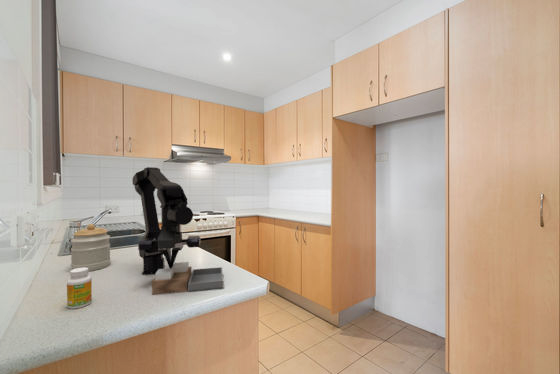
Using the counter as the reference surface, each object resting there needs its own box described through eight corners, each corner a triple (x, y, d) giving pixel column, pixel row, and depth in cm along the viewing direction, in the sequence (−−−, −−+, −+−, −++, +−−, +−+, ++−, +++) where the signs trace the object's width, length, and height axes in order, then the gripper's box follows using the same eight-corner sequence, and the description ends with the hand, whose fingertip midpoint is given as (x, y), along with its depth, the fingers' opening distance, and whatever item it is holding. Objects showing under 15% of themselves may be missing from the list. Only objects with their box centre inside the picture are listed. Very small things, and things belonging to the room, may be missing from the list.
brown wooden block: (152, 294, 77) (151, 281, 77) (161, 280, 89) (160, 268, 89) (187, 291, 80) (187, 278, 80) (191, 277, 91) (191, 266, 91)
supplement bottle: (72, 311, 68) (71, 274, 68) (63, 306, 70) (63, 270, 70) (95, 303, 72) (94, 268, 72) (86, 298, 75) (86, 265, 75)
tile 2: (155, 280, 78) (155, 273, 78) (158, 275, 83) (158, 269, 83) (171, 279, 79) (171, 272, 79) (173, 274, 84) (173, 268, 84)
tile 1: (172, 272, 85) (172, 266, 85) (175, 268, 89) (174, 262, 89) (186, 271, 86) (186, 265, 86) (188, 267, 90) (188, 261, 90)
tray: (188, 291, 79) (187, 283, 79) (192, 276, 93) (192, 269, 93) (222, 288, 82) (222, 280, 82) (222, 273, 95) (222, 267, 95)
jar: (86, 274, 96) (85, 227, 96) (62, 270, 100) (62, 225, 100) (118, 264, 109) (117, 222, 108) (96, 261, 113) (95, 221, 113)
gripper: (132, 226, 77) (132, 278, 77) (197, 224, 81) (197, 273, 81) (143, 221, 88) (143, 267, 88) (200, 219, 92) (200, 263, 92)
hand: (171, 268), depth 87 cm, fingers closed
